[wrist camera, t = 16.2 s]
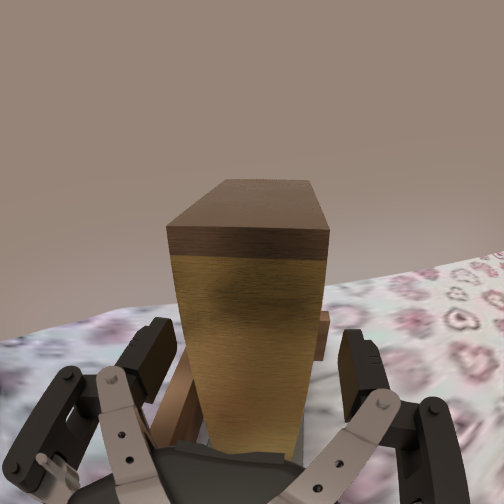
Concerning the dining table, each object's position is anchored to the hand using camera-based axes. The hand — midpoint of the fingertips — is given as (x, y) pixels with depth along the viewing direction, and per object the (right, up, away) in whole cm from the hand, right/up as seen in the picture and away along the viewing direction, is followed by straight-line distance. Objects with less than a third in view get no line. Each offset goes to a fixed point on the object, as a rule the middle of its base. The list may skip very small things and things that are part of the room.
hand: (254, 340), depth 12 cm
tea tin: (0, -9, +7) cm, 11 cm away
